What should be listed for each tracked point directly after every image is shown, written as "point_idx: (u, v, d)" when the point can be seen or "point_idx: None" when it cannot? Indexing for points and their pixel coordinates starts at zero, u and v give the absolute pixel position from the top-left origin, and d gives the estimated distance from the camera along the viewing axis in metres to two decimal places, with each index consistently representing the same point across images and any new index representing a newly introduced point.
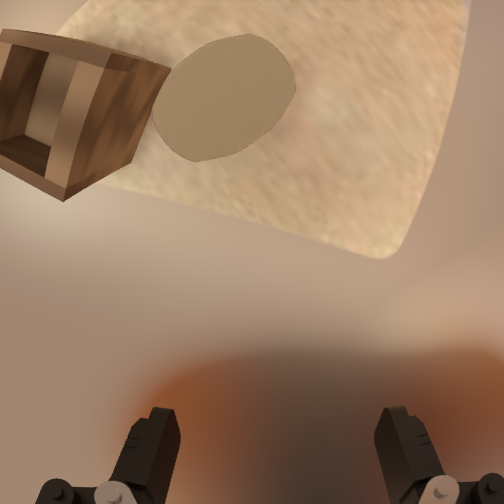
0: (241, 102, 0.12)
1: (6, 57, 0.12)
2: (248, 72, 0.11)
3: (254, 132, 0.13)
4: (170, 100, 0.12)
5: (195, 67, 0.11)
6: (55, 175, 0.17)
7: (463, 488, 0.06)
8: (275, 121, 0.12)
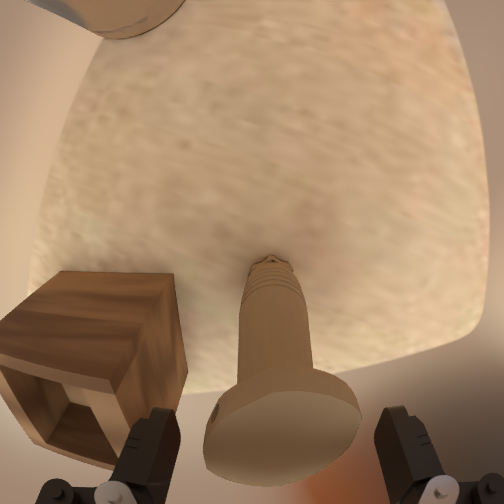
0: (303, 447, 0.09)
1: (2, 376, 0.13)
2: (296, 425, 0.09)
3: (330, 457, 0.09)
4: (222, 462, 0.10)
5: (228, 437, 0.09)
6: None
7: (463, 488, 0.06)
8: (349, 444, 0.09)
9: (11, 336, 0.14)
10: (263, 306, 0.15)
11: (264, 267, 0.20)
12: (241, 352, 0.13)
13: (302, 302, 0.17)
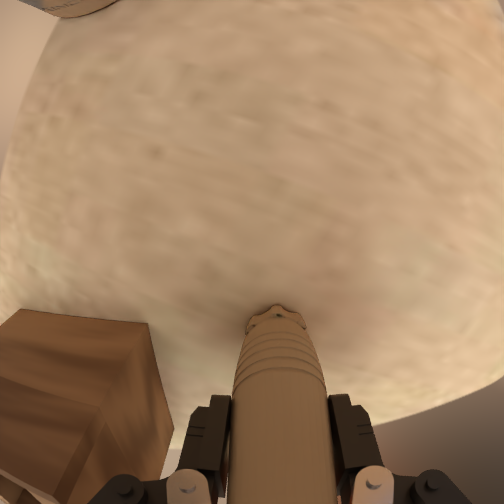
0: None
1: None
2: None
3: None
4: None
5: None
6: None
7: (402, 482, 0.07)
8: None
9: None
10: (265, 411, 0.09)
11: (267, 329, 0.14)
12: (231, 485, 0.07)
13: (322, 391, 0.11)
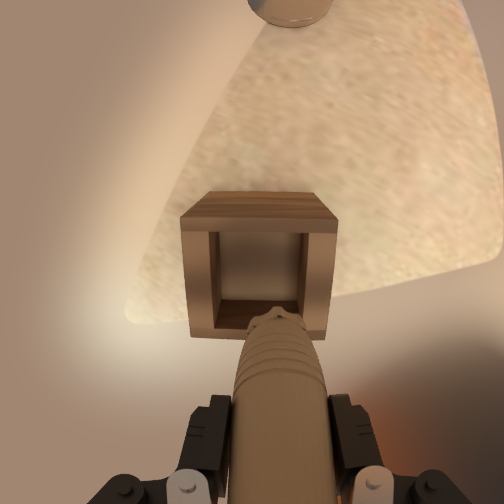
0: None
1: (207, 246, 0.22)
2: None
3: None
4: None
5: None
6: (313, 324, 0.24)
7: (402, 482, 0.07)
8: None
9: (220, 212, 0.23)
10: (266, 412, 0.09)
11: (267, 330, 0.14)
12: (232, 486, 0.07)
13: (323, 392, 0.11)
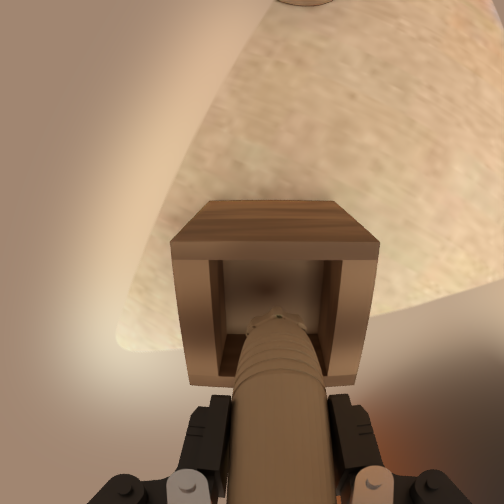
0: None
1: (207, 278, 0.16)
2: None
3: None
4: None
5: None
6: (342, 369, 0.18)
7: (402, 482, 0.07)
8: None
9: (223, 231, 0.17)
10: (265, 412, 0.09)
11: (267, 331, 0.14)
12: (231, 486, 0.07)
13: (322, 393, 0.11)
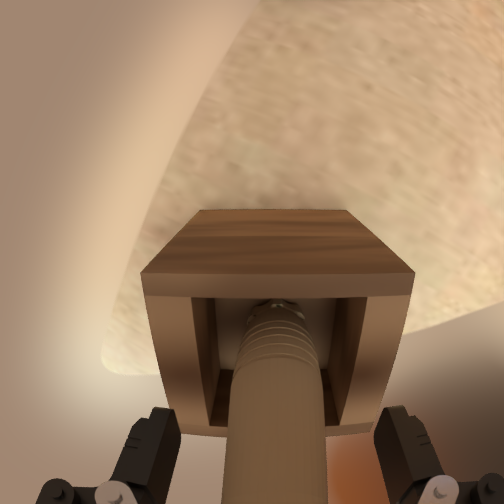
0: None
1: (190, 320, 0.12)
2: None
3: None
4: None
5: None
6: (357, 418, 0.14)
7: (463, 488, 0.06)
8: None
9: (211, 257, 0.13)
10: (262, 393, 0.10)
11: (266, 319, 0.15)
12: (228, 462, 0.08)
13: (317, 377, 0.11)
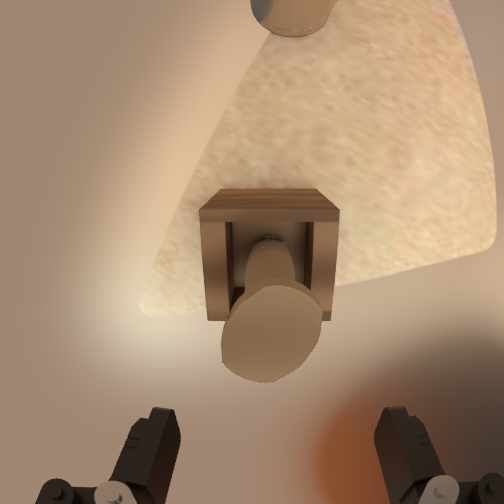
0: (286, 337, 0.16)
1: (223, 235, 0.25)
2: (281, 315, 0.16)
3: (306, 350, 0.16)
4: (233, 353, 0.16)
5: (239, 326, 0.16)
6: None
7: (463, 488, 0.06)
8: (317, 337, 0.16)
9: (234, 205, 0.26)
10: (262, 260, 0.22)
11: (263, 240, 0.27)
12: (247, 287, 0.20)
13: (290, 261, 0.24)
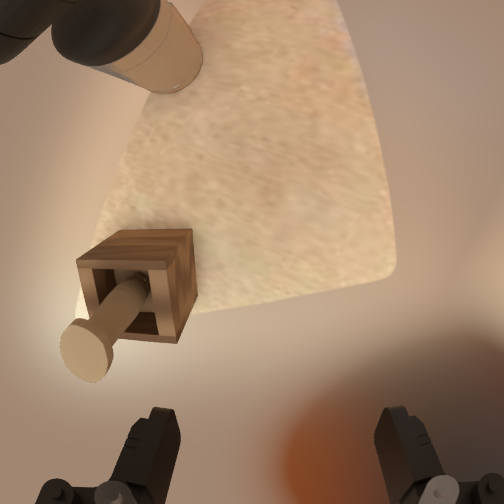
0: (90, 356, 0.22)
1: (92, 277, 0.31)
2: (82, 342, 0.22)
3: (104, 366, 0.23)
4: (69, 361, 0.23)
5: (65, 346, 0.22)
6: (166, 332, 0.33)
7: (463, 488, 0.06)
8: (106, 359, 0.22)
9: (101, 254, 0.32)
10: (106, 299, 0.29)
11: (125, 279, 0.33)
12: None
13: (131, 299, 0.30)
